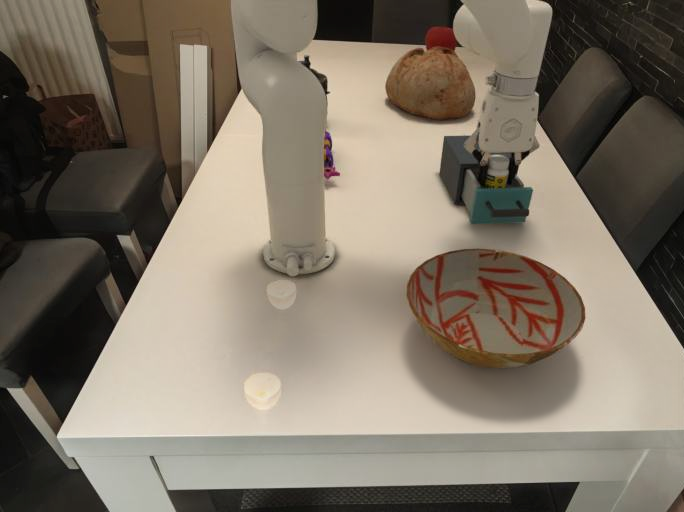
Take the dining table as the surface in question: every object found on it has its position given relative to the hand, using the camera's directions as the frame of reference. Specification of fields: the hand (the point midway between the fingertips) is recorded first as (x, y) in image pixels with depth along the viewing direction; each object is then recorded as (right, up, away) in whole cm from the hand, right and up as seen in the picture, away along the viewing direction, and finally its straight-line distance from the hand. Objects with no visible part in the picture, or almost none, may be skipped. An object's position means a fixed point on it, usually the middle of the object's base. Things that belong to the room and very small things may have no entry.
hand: (494, 181), depth 107 cm
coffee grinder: (-41, +25, +36) cm, 60 cm away
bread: (-8, +37, +51) cm, 63 cm away
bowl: (-7, -31, -24) cm, 40 cm away
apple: (-1, +67, +84) cm, 108 cm away
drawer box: (-2, +3, +13) cm, 13 cm away
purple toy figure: (-39, +9, +19) cm, 44 cm away
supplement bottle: (0, -3, +3) cm, 4 cm away
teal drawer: (0, -5, +3) cm, 6 cm away
